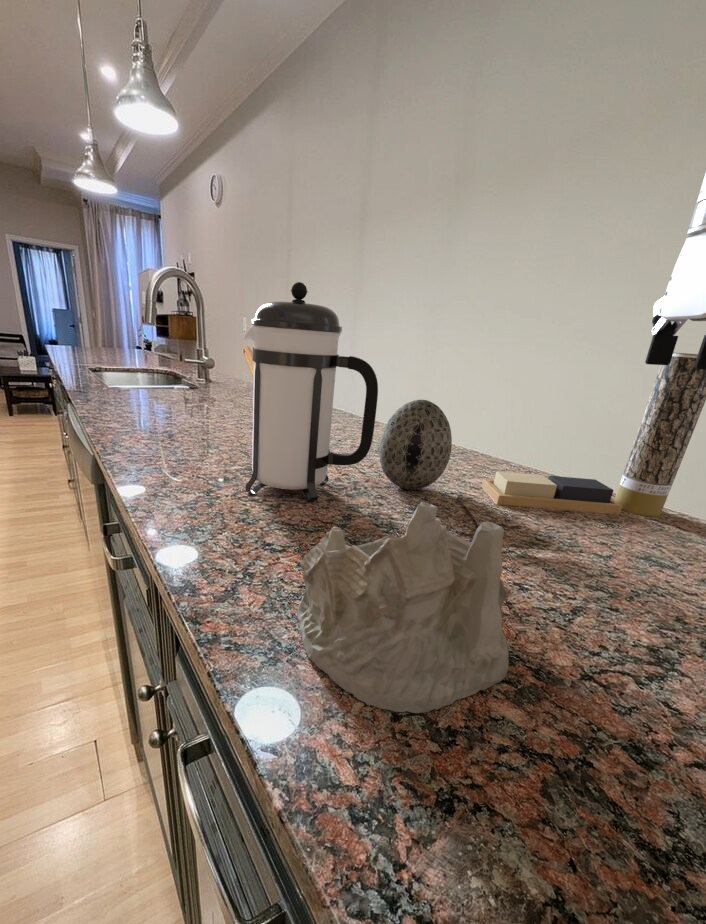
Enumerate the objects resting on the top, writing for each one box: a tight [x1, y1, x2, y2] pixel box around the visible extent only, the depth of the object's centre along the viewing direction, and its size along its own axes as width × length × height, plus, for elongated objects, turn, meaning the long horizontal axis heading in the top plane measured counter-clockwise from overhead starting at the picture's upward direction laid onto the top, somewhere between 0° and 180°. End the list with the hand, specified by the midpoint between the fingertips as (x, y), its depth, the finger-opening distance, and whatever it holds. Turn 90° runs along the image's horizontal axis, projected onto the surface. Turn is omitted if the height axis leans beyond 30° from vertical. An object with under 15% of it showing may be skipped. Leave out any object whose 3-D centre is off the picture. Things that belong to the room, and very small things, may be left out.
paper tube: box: [613, 352, 706, 518], centre depth 70 cm, size 7×7×25 cm
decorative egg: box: [378, 399, 453, 491], centre depth 75 cm, size 12×12×15 cm
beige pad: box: [493, 470, 557, 499], centre depth 74 cm, size 8×6×4 cm
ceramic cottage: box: [296, 501, 511, 714], centre depth 36 cm, size 16×16×15 cm
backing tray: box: [481, 478, 623, 516], centre depth 75 cm, size 20×9×2 cm, turn 88°
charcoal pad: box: [547, 475, 615, 503], centre depth 74 cm, size 8×6×4 cm
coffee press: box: [243, 281, 379, 503], centre depth 67 cm, size 17×16×30 cm
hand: (680, 366), depth 61 cm, fingers open, 9 cm apart
